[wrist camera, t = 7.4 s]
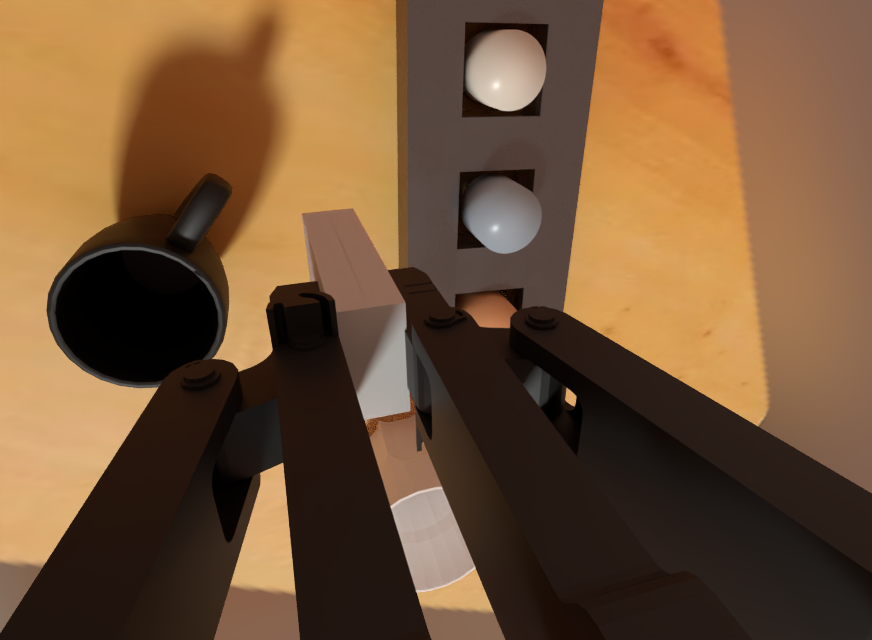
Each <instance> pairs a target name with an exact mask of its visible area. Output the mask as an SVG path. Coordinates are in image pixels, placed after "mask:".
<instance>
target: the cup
mask: <svg viewBox="0 0 872 640" xmlns="http://www.w3.org/2000/svg"><path fill="white" fill-rule="evenodd" d="M370 441H371V444H372V447H373V450H374V454H375V457H376V460H377V464H378V467H379V470H380V474H381V477H382V480H383V484H384V487H385V490H386V493H387V497H388V500H389V503H390V507H391V510H392V513H393V517H394V520H395V523H396V526H397V530H398V533H399V536H400V540H401V543H402V546H403V550H404V553H405V556H406V559H407V563H408V566H409V569H410V573H411V576H412V579H413V583H414V586H415V589H416V592H426V591H431V590H434V589H438V588H442V587H445V586H447V585H449V584H451V583H453V582H455V581H458V580H460V579H461V578H463V577H464V576H466V575H467V574H468V573H470V572H471V571H473V570H474V569H475V565H474V563H473V560H472V558H471V556H470V553H469V551H468V548H467V546H466V544H465V541H464V539H463V536H462V534H461V532H460V529H459V527H458V524H457V522H456V519H455V517H454V515H453V512H452V510H451V507H450V505H449V503H448V500H447V498H446V495H445V493H444V491H443V488H442V486H441V483H440V481H439V479H438V476H437V474H436V471H435V469H434V466H433V464H432V462H431V459H430V457H429V454H428V452H427V450H426V447H425V445H424V442H423V443H422V451H418V452H417V445H416V420H415V414H414V415H412V416H411V417H409V418H406V419H402V420H397V421H392V422H384V421H378V425H377V428H376V430H375V431H374V433H373V434H372V435H371V436H370Z"/></svg>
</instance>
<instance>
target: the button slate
mask: <svg viewBox="0 0 872 640" xmlns="http://www.w3.org/2000/svg"><path fill="white" fill-rule="evenodd" d="M459 212H460V217H461V220H462V222H463V224H464V225H465V227H466V228H467V229H468V230H469V231H470V232H471V233H472V234H473V235H474V236H475V237H476V238H477V239H478V240H479V241H480V242H481V243H482V244H484V245H485V246H486V247H487V248H488V249H490V250H491V251H494V252H497V253H502V254H507V253H513V252H516V251H518V250H520V249H522V248H524V247H525V246H527V245H528V244H529V243H530V242H531V241H532V240H533V238H534V237H535V236H536V234H537V232H538V230H539V227H540V224H541V219H542V211H541V206H540V203H539V201H538V199H537V197H536V196H535V195H534V194H533V193H532V192H531V191H530V190H528V189H526V188H525V187H523V186H521V185H520V184H518V183H516V182H515V181H513V180H511V179H510V178H508V177H506V176H504V175H502V174H498V173H488V174H484V175H481V176H479V177H477V178H476V179H474V180H473V181H472V182H471V183H470V184H469V185H468V186H467V187H466V189H465V190H464V192H463V194H462V196H461V199H460V204H459Z"/></svg>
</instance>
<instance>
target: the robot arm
mask: <svg viewBox="0 0 872 640" xmlns="http://www.w3.org/2000/svg"><path fill="white" fill-rule="evenodd" d="M302 219H303V226H304V234H305V242H306V249H307V257H308V265H309V272H310V280H311V282H305V283H298V284H290V285H282V286H277V287H276V288H275V290H274V291H273V292H272V293H271V295H270V303H268V305H267V308H266V313H267V319H268V325H269V330H270V336H271V342H272V348H273V351H272V353H271V354H270V355H269V356H268V357H267V358H266V359H265V360H264V361H262V362H261V363H259V364H257V365H255V366H253V367H250V368H248V369H246V370H243V371H240V372H238V369H237V368H236V367H235V365H234V364H233V363H230V362H228V361H225V360H218V359H207V360H197V361H193V362H192V363H191V362H190V363H187V364H185V365H183V366H181V367H179V368H178V369H176V370H174V371H172V372H171V373H170V374H169V375H168V376H167V377H166V378H165V379H164V380H163V382H162V383H161V385H160V386H159V388H158V389H157V391H156V392H155V394H154V396H153V397H152V399H151V400H150V402H149V403H148V405H147V406H146V408H145V410H144V411H143V413H142V414H141V416H140V417H139V419H138V420H137V422H136V423H135V425H134V427H133V428H132V430H131V431H130V433H129V434H128V436H127V437H126V439H125V441H124V442H123V444H122V445H121V447H120V448H119V450H118V451H117V453H116V455H115V456H114V458H113V459H112V461H111V462H110V464H109V465H108V467H107V469H106V470H105V472H104V473H103V475H102V476H101V478H100V479H99V481H98V482H97V484H96V486H95V487H94V489H93V490H92V492H91V493H90V495H89V496H88V498H87V500H86V501H85V503H84V504H83V506H82V507H81V509H80V510H79V512H78V514H77V515H76V517H75V518H74V520H73V521H72V523H71V524H70V526H69V528H68V529H67V531H66V532H65V534H64V535H63V537H62V538H61V540H60V541H59V543H58V545H57V546H56V548H55V549H54V551H53V552H52V554H51V555H50V557H49V559H48V560H47V562H46V563H45V565H44V566H43V568H42V569H41V571H40V573H39V574H38V576H37V577H36V579H35V580H34V582H33V583H32V585H31V587H30V588H29V590H28V591H27V593H26V594H25V596H24V597H23V599H22V601H21V602H20V604H19V605H18V607H17V608H16V610H15V612H14V613H13V614H12V616H11V618H10V619H9V621H8V622H7V624H6V625H5V627H4V628H3V630H2V632H1V633H0V640H214V637H215V634H216V630H217V627H218V623H219V620H220V617H221V614H222V610H223V607H224V603H225V600H226V597H227V593H228V590H229V587H230V583H231V580H232V577H233V573H234V570H235V567H236V563H237V560H238V557H239V553H240V550H241V547H242V543H243V540H244V537H245V533H246V530H247V527H248V523H249V520H250V517H251V513H252V510H253V507H254V503H255V500H256V497H257V493H258V490H259V487H260V473H261V472H263V471H265V470H267V469H270V468H272V467H274V466H276V465H279V464H281V463H283V464H284V474H285V485H286V495H287V506H288V516H289V527H290V538H291V548H292V559H293V569H294V580H295V590H296V601H297V611H298V622H299V632H300V640H431V638H430V635H429V632H428V629H427V626H426V622H425V619H424V616H423V612H422V609H421V606H420V602H419V599H418V596H417V593H416V589H415V586H414V583H413V579H412V576H411V573H410V569H409V566H408V563H407V559H406V556H405V553H404V550H403V546H402V543H401V540H400V536H399V533H398V530H397V526H396V523H395V520H394V517H393V513H392V510H391V507H390V503H389V500H388V497H387V493H386V490H385V487H384V484H383V480H382V477H381V474H380V470H379V467H378V464H377V460H376V457H375V454H374V450H373V447H372V444H371V441H370V437H369V434H368V431H367V427H366V424H365V421H364V420H367V419H372V418H378V417H383V416H388V415H393V414H398V413H404V412H409V411H410V394H411V396H412V398H413V401H414V403H415V420H416V445H417V452H418V451H422V443H423V442H424V445H425V447H426V450H427V452H428V454H429V457H430V459H431V462H432V464H433V466H434V469H435V471H436V474H437V476H438V479H439V481H440V483H441V486H442V488H443V491H444V493H445V495H446V498H447V500H448V503H449V505H450V507H451V510H452V512H453V515H454V517H455V519H456V522H457V524H458V527H459V529H460V532H461V534H462V536H463V539H464V541H465V544H466V546H467V548H468V551H469V553H470V556H471V558H472V560H473V563H474V565H475V568H476V570H477V572H478V575H479V577H480V580H481V582H482V585H483V587H484V589H485V592H486V594H487V597H488V599H489V601H490V604H491V606H492V609H493V611H494V613H495V616H496V618H497V621H498V623H499V625H500V628H501V630H502V633H503V635H504V637H505V640H872V493H870V492H868V491H867V490H864V489H863V488H861V487H859V486H858V485H856V484H855V483H853V482H851V481H850V480H848V479H846V478H844V477H843V476H841V475H839V474H838V473H836V472H834V471H833V470H831V469H829V468H827V467H826V466H824V465H822V464H821V463H819V462H817V461H815V460H814V459H812V458H810V457H809V456H807V455H805V454H804V453H802V452H800V451H799V450H797V449H795V448H794V447H792V446H790V445H788V444H787V443H785V442H783V441H782V440H780V439H778V438H777V437H775V436H773V435H771V434H770V433H768V432H766V431H765V430H763V429H761V428H760V427H758V426H756V425H755V424H753V423H751V422H749V421H748V420H746V419H744V418H743V417H741V416H739V415H738V414H736V413H734V412H732V411H731V410H729V409H727V408H726V407H724V406H722V405H721V404H719V403H717V402H715V401H714V400H712V399H710V398H709V397H707V396H705V395H704V394H702V393H700V392H698V391H697V390H695V389H693V388H692V387H690V386H688V385H687V384H685V383H683V382H682V381H680V380H678V379H676V378H675V377H673V376H671V375H670V374H668V373H666V372H665V371H663V370H661V369H659V368H658V367H656V366H654V365H653V364H651V363H649V362H648V361H646V360H644V359H642V358H641V357H639V356H637V355H636V354H634V353H632V352H631V351H629V350H627V349H625V348H624V347H622V346H620V345H619V344H617V343H615V342H614V341H612V340H610V339H609V338H607V337H605V336H603V335H602V334H600V333H598V332H597V331H595V330H593V329H592V328H590V327H588V326H586V325H585V324H583V323H581V322H580V321H578V320H576V319H575V318H573V317H571V316H569V315H568V314H566V313H564V312H562V311H559V310H557V309H552V308H548V307H545V306H539V307H538V306H532V307H529V308H523V309H520V310H518V311H516V312H514V313H513V315H512V316H511V317H510V328H490V327H480V326H479V325H478V324H477V322H476V321H475V320H474V318H473V317H472V316H471V315H470V314H469V313H468V312H466V311H465V310H462V309H459V308H456V307H450V306H449V305H448V303H447V302H446V301H445V299H444V298H443V296H442V295H441V293H440V292H439V291H438V290H437V288H436V286H435V285H434V284H433V282H432V281H431V279H430V278H429V276H428V275H427V273H425V272H423V271H421V270H419V269H417V268H415V267H409V268H402V269H394V270H387V269H386V267H385V265H384V263H383V261H382V260H381V258H380V256H379V254H378V252H377V251H376V249H375V247H374V245H373V244H372V242H371V240H370V238H369V236H368V235H367V233H366V231H365V229H364V227H363V226H362V224H361V222H360V220H359V218H358V217H357V215H356V213H355V211H354V210H353V208H352V209H342V210H332V211H322V212H313V213H303V214H302ZM566 387H567V388H568V389H569V390H571V391H572V392H573V393H574V394H575V395H576V396H577V398H576V405H575V407H574V406H572V405H570V404H569V403H567V402H566V401H565V396H566Z"/></svg>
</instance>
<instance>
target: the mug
mask: <svg viewBox="0 0 872 640" xmlns="http://www.w3.org/2000/svg"><path fill="white" fill-rule="evenodd" d="M231 194H232V187H231V186H230V184H229V183H228V182H227V181H225V180H224V179H223V178H221V177H219V176H217V175H216V174H211V173H208V174H206V175H205V176H204V177H203V178H202V179H201V180H200V181H199V182H198V183H197V185H196V186H195V187H194V188H193V189H192V191H191V192H190V193H189V194H188V196H187V197H186V198H185V200H184V201H183V203H182V204H181V206H180V207H179V209H178V210H177V212H176V213H175V215H174V216H172V215H163V214H156V215H146V216H140V217H134V218H129V219H126V220H123V221H121V222H118V223H116V224H113V225H111V226H109V227H106V228H104V229H103V230H101V231H100V232H98V233H97V234H96V235H94V236H93V237H91V238H90V239H89V240H87V241H86V242H84V243H83V244H82V246H81V247H80V248H79V249H78V250H77V251H76V252H75V254H74V255H73V256H72V257H71V258H70V260H69V261H68V262H67V263H66V265H65V266H64V267H63V268H62V269H61V271H60V272H59V273H58V274H57V276H56V277H55V279H54V281H53V283H52V286H51V288H50V290H49V293H48V301H47V316H48V321H49V327H50V330H51V332H52V334H53V336H54V339H55V341H56V343H57V345H58V346H59V347H60V348H61V350H62V351H63V352H64V353H65V355H66V356H67V357H68V358H69V359H70V360H71V361H72V362H73V363H75V364H76V365H77V366H78V367H80V368H81V369H82V370H83V371H85V372H87V373H89V374H91V375H93V376H95V377H97V378H98V379H100V380H103V381H106V382H110V383H113V384H116V385H119V386H127V387H134V388H153V387H159V386H160V385H161V383H162V382H163V380H164V379H165V378H166V377H167V376H168V375H169V374H170V373H171V372H172V371H174V370H176V369H178V368H179V367H181V366H183V365H185V364H187V363H190V362H191V363H192V362H193V361H197V360H207V359H212V358H213V357H214V356H215V355H216V353H217V351H218V350H219V348H220V346H221V344H222V342H223V340H224V335H225V331H226V327H227V319H228V311H229V287H228V281H227V278H226V274H225V271H224V267H223V265H222V262H221V260H220V258H219V256H218V254H217V253H216V251H215V249H214V247H213V246H212V244H211V243H210V242H209V241H208V240H207V239H206V237H205V235H206V233H207V232H208V230H209V229H210V227H211V226H212V224H213V223H214V221H215V220H216V218H217V217H218V215H219V214H220V212H221V211H222V209H223V208H224V206H225V205H226V203H227V201H228V200H229V198H230V196H231Z"/></svg>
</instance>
